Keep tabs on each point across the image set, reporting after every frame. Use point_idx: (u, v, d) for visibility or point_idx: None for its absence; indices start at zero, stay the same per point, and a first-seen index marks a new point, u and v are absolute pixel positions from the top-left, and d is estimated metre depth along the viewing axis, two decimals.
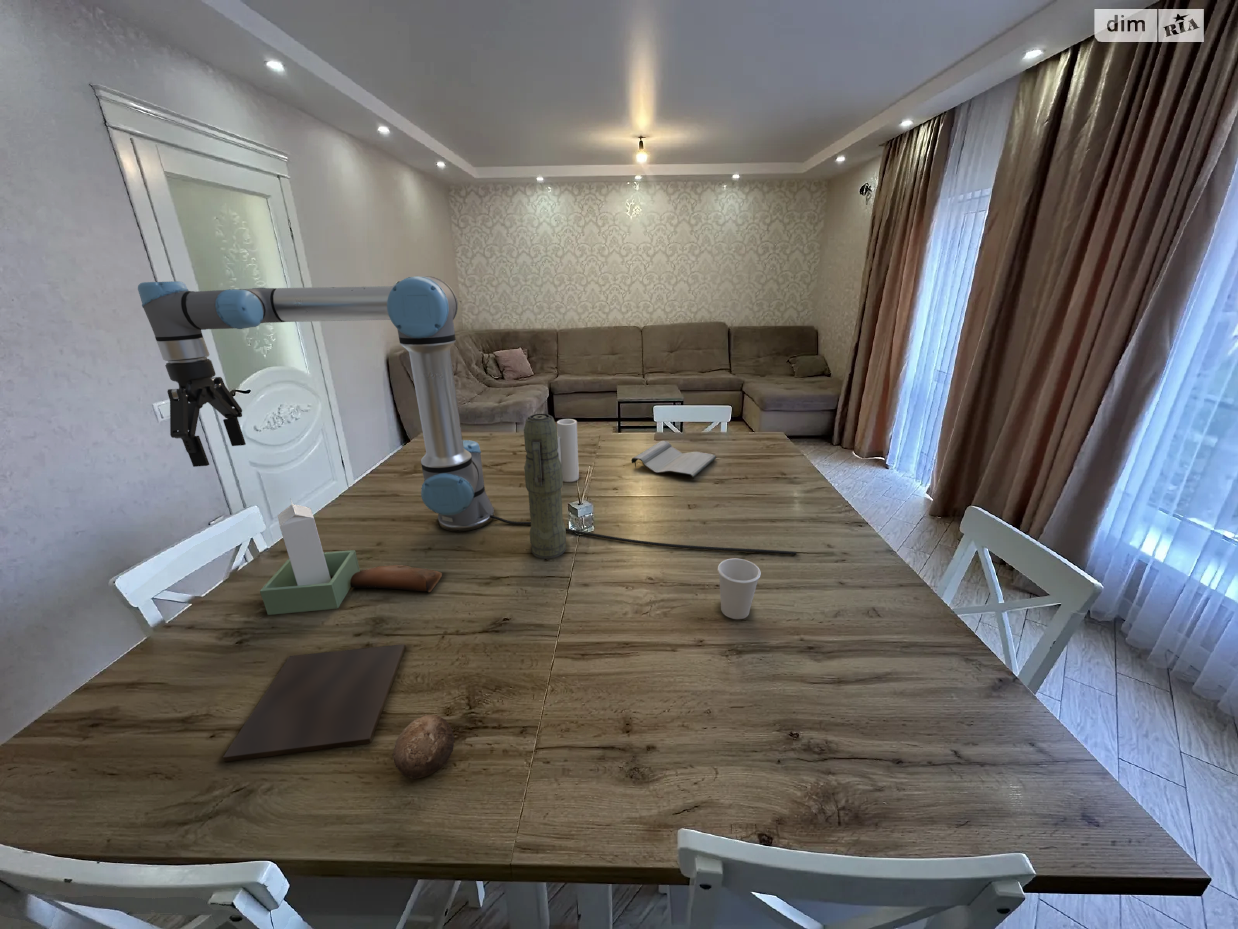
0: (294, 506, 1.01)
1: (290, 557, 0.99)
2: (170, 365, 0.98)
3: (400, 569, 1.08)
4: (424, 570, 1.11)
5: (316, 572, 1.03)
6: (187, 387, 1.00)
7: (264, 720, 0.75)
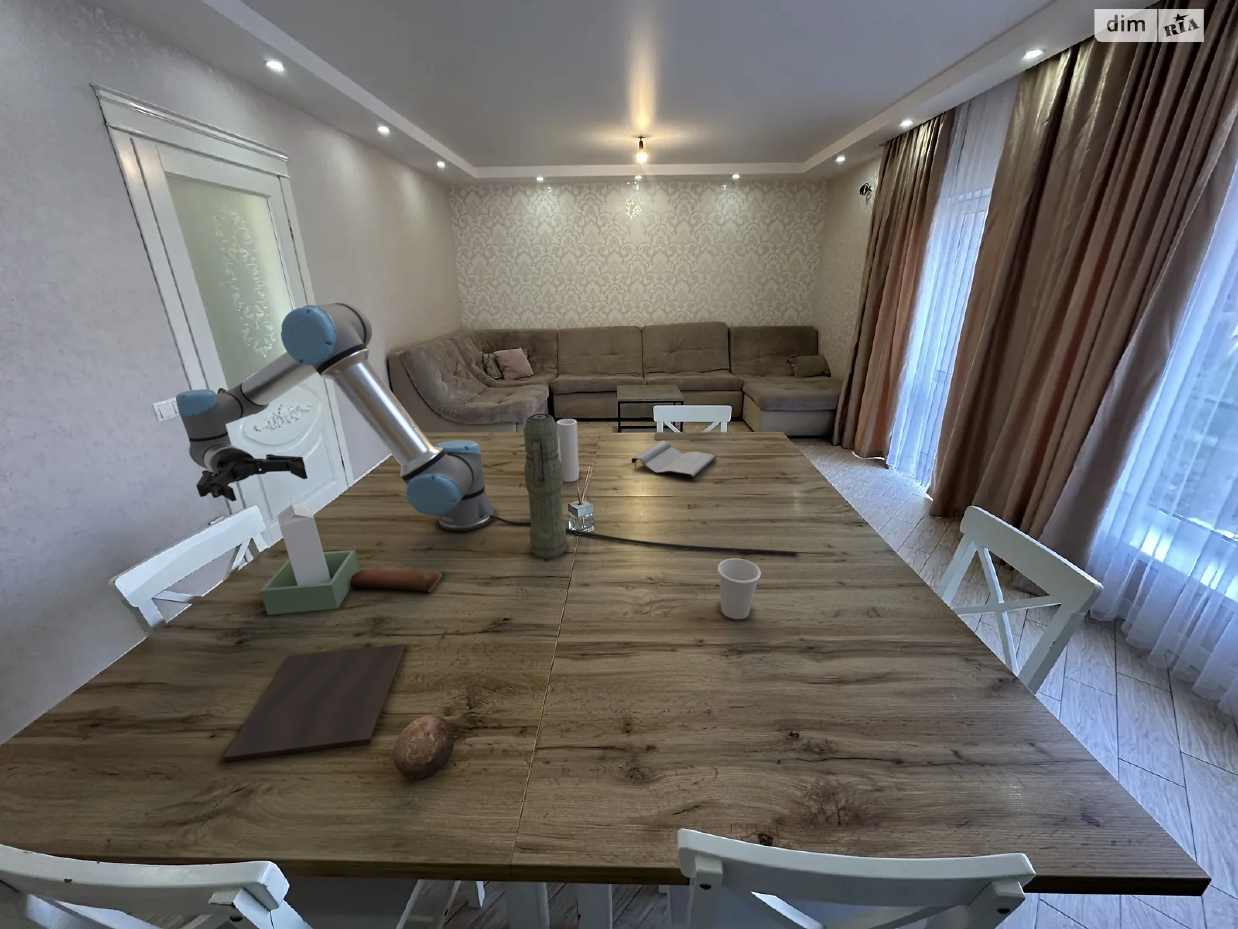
0: (294, 506, 1.01)
1: (290, 557, 0.99)
2: None
3: (400, 569, 1.08)
4: (424, 570, 1.10)
5: (316, 572, 1.03)
6: None
7: (264, 720, 0.75)
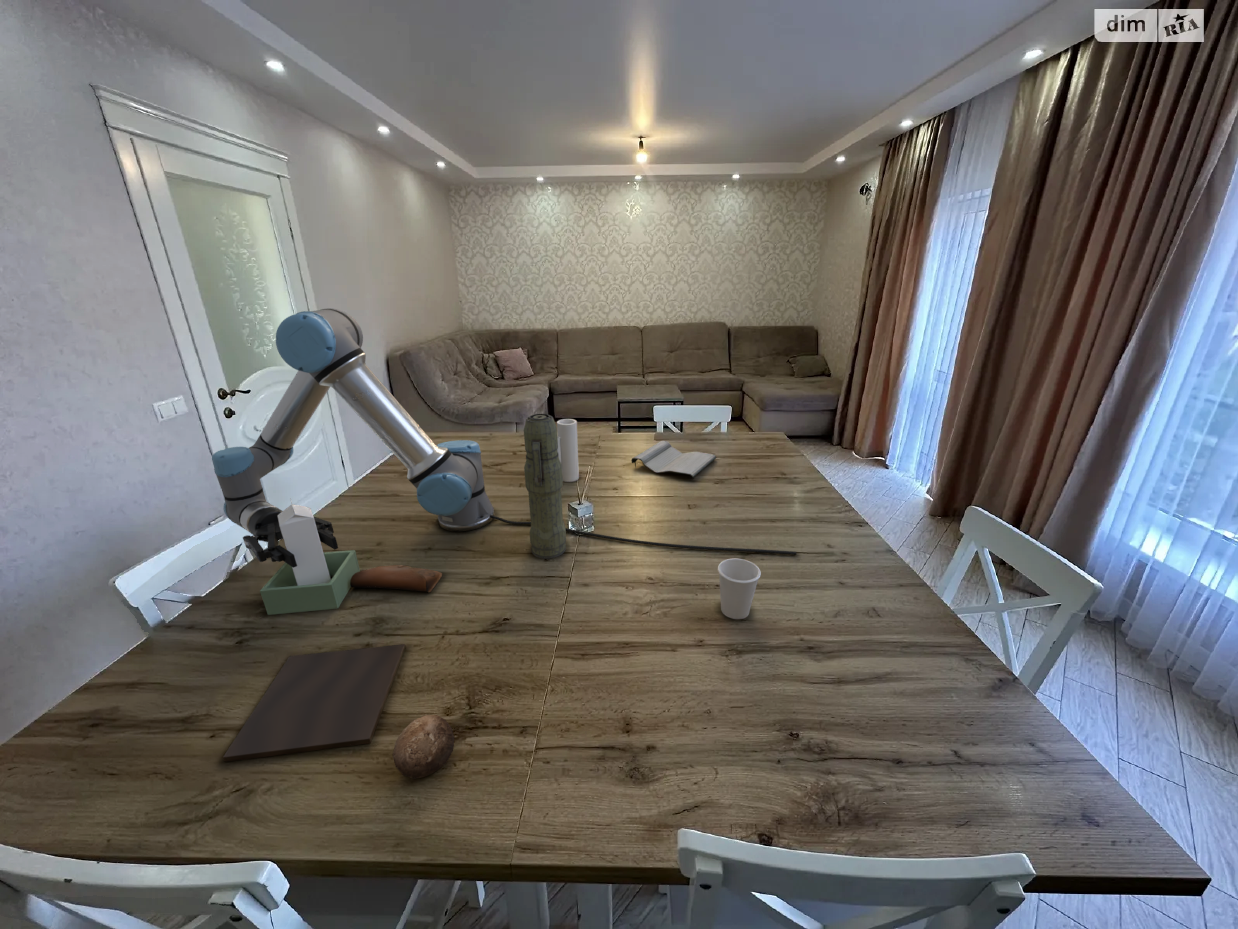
0: (294, 506, 1.01)
1: None
2: None
3: (400, 569, 1.08)
4: (424, 570, 1.10)
5: (316, 572, 1.03)
6: (256, 532, 1.06)
7: (264, 720, 0.75)
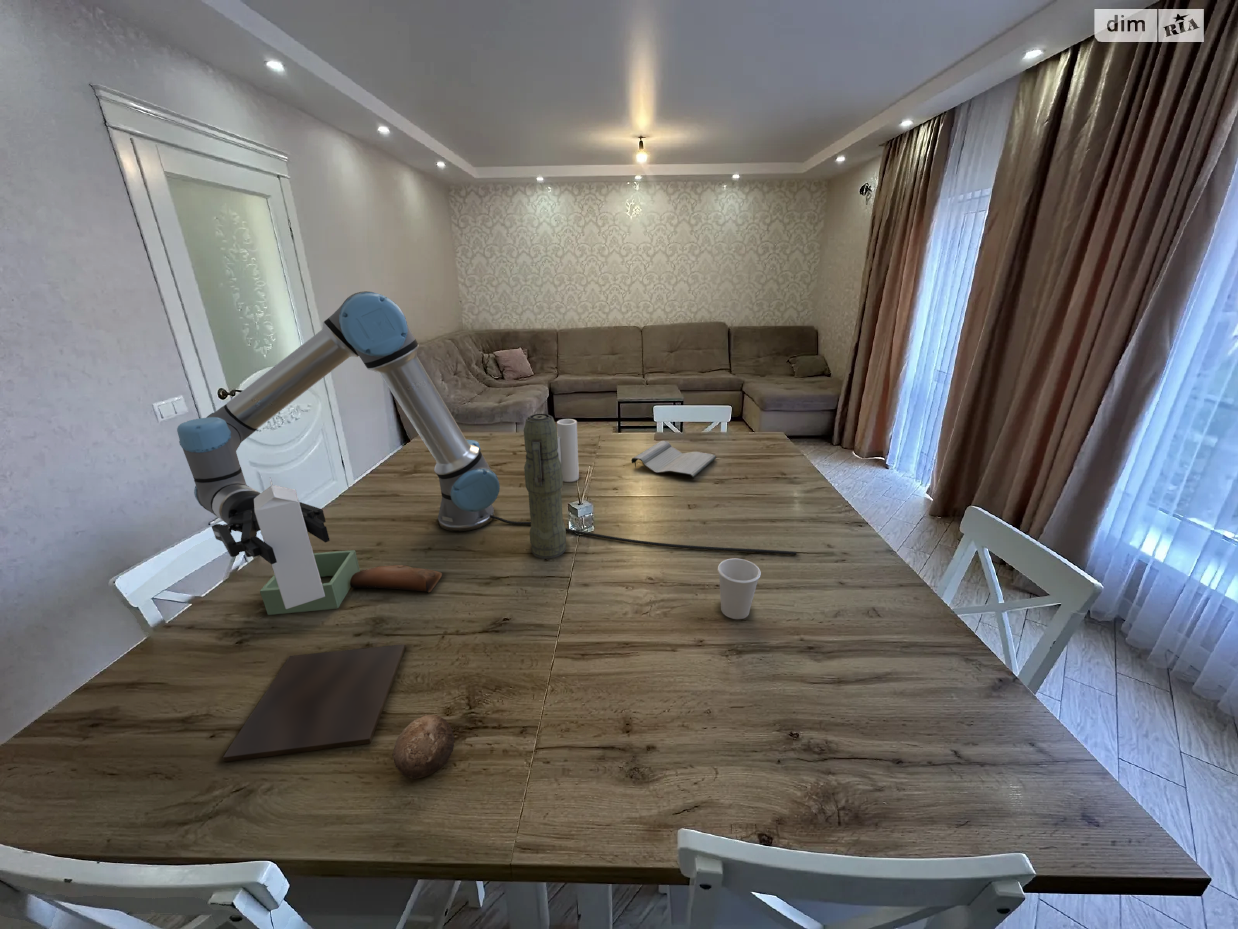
0: (275, 487, 0.80)
1: None
2: None
3: (400, 569, 1.08)
4: (424, 570, 1.10)
5: (302, 570, 0.82)
6: None
7: (264, 720, 0.75)
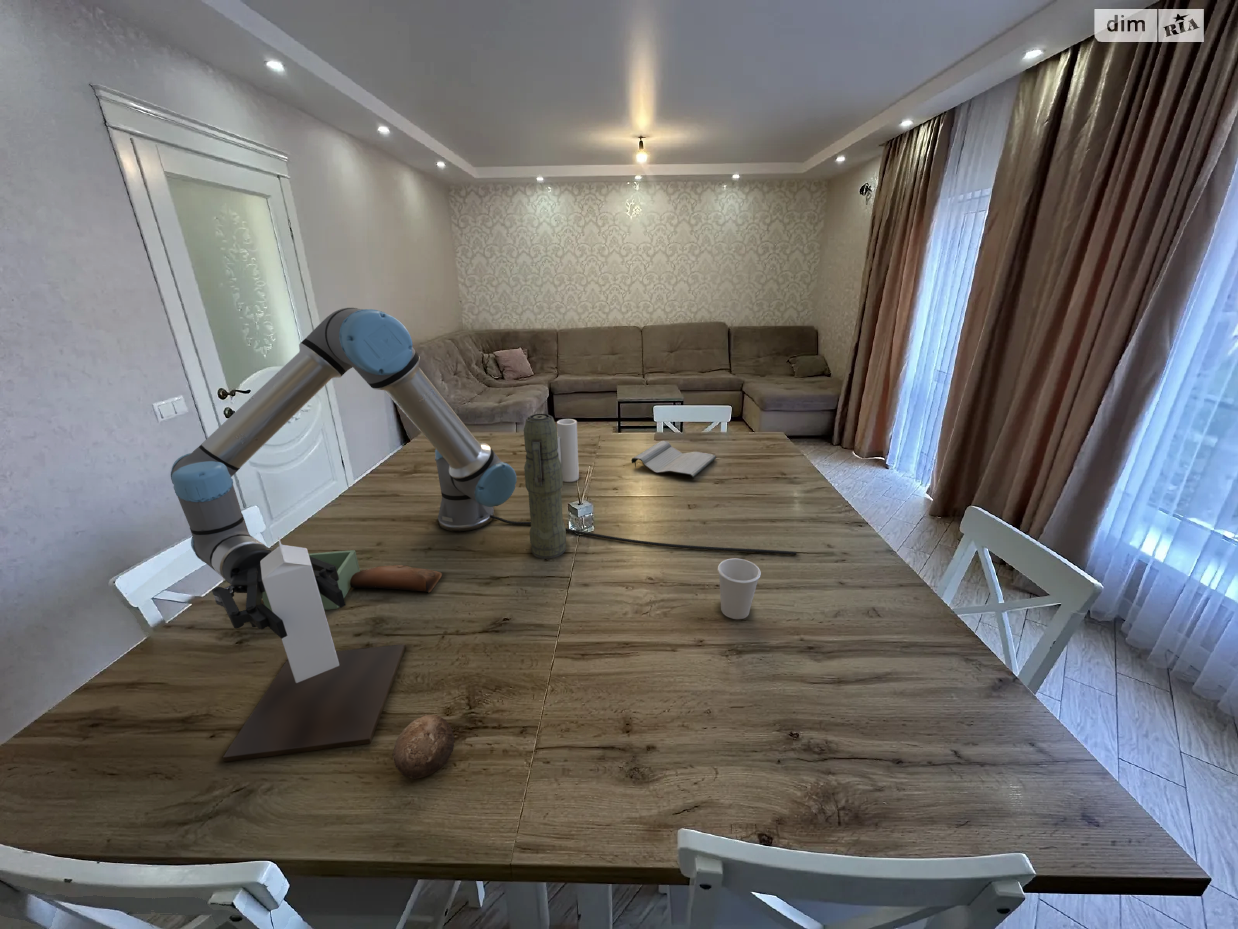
0: (284, 548, 0.71)
1: None
2: None
3: (400, 569, 1.08)
4: (424, 570, 1.10)
5: (315, 639, 0.73)
6: None
7: (264, 720, 0.75)
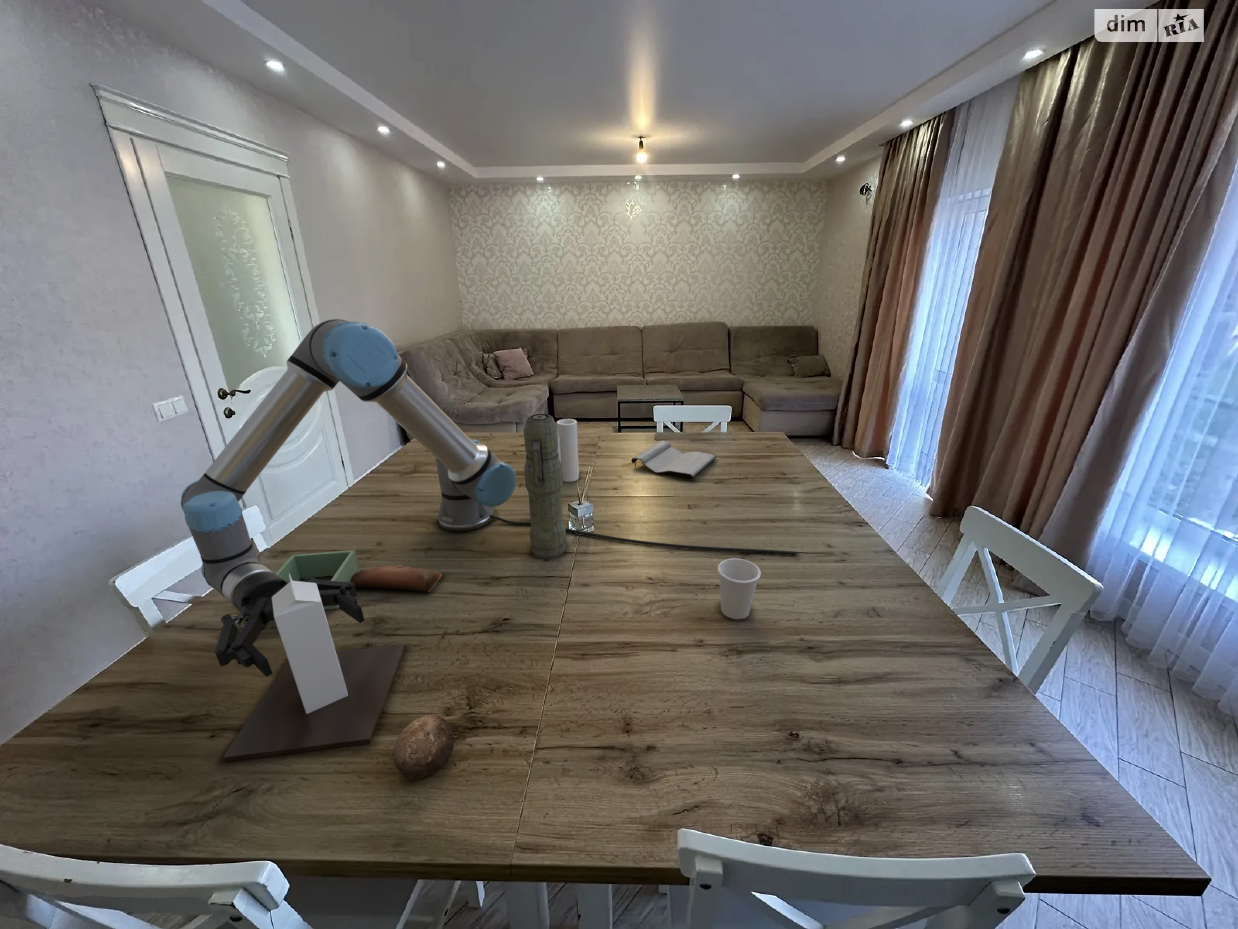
0: (294, 584, 0.74)
1: (289, 657, 0.72)
2: None
3: (400, 569, 1.08)
4: (424, 570, 1.10)
5: (324, 672, 0.76)
6: (242, 610, 0.79)
7: (264, 720, 0.75)
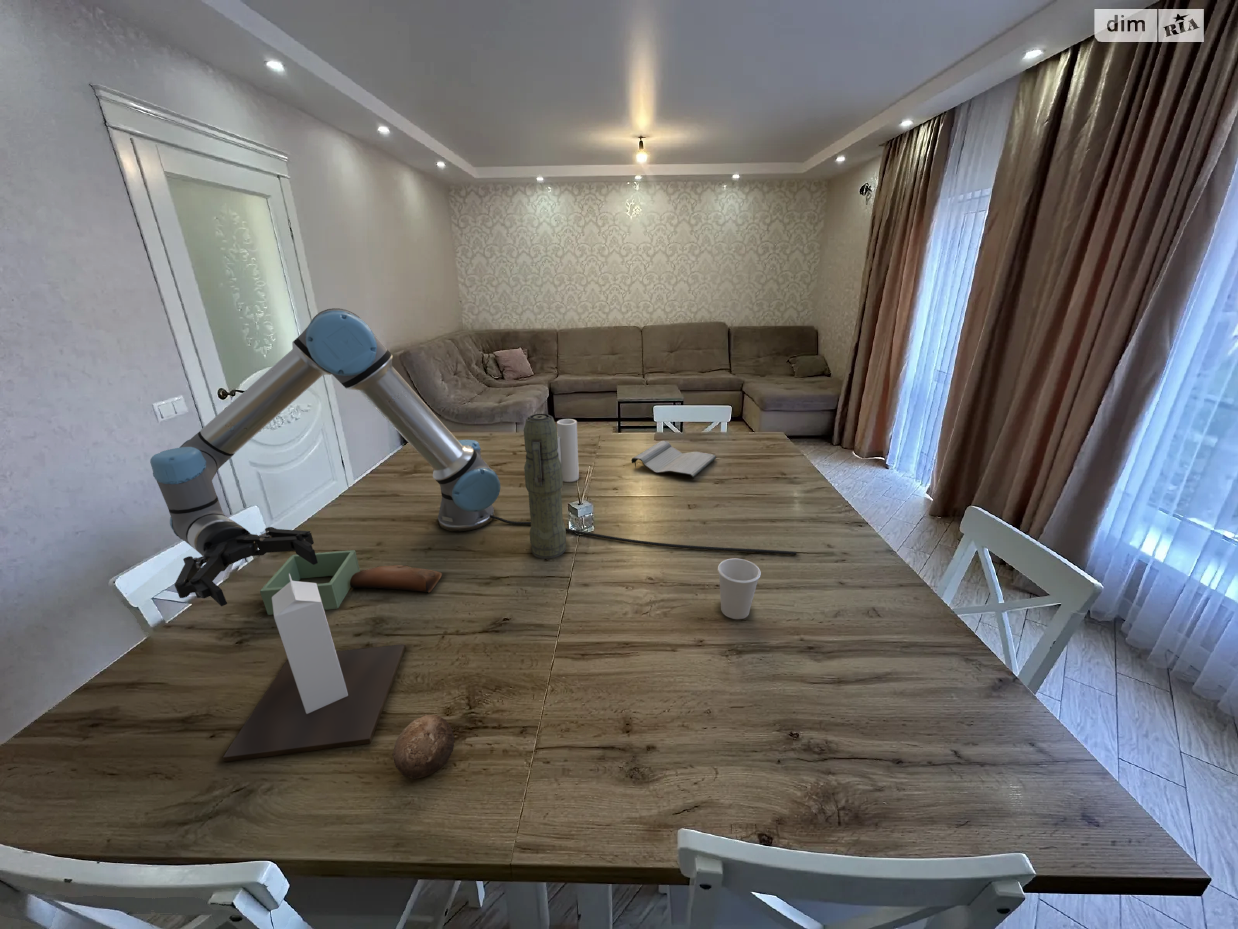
0: (294, 584, 0.74)
1: (289, 657, 0.72)
2: None
3: (400, 569, 1.08)
4: (424, 570, 1.10)
5: (324, 672, 0.76)
6: None
7: (264, 720, 0.75)
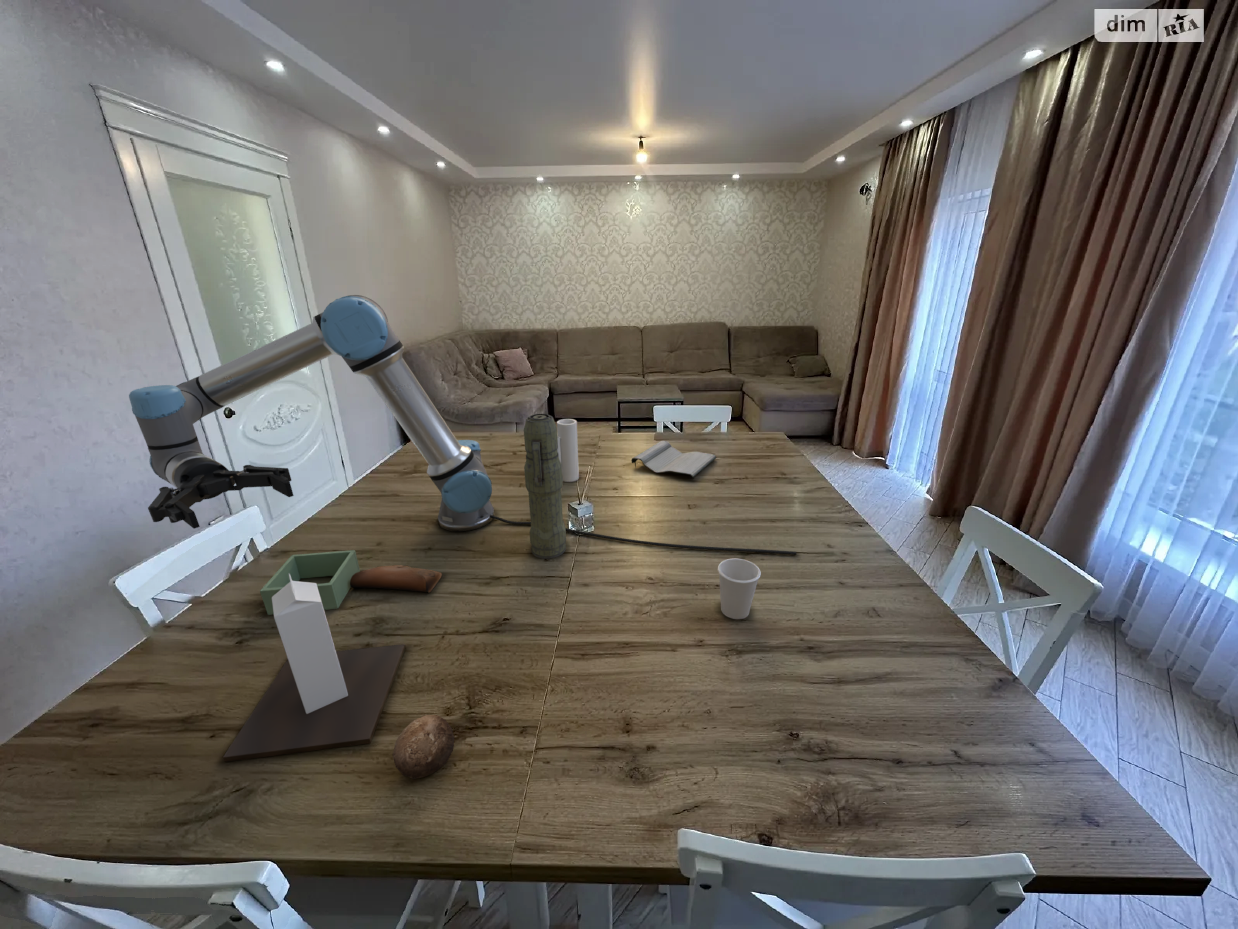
0: (294, 584, 0.74)
1: (289, 657, 0.72)
2: None
3: (400, 569, 1.08)
4: (424, 570, 1.10)
5: (324, 672, 0.76)
6: None
7: (264, 720, 0.75)
